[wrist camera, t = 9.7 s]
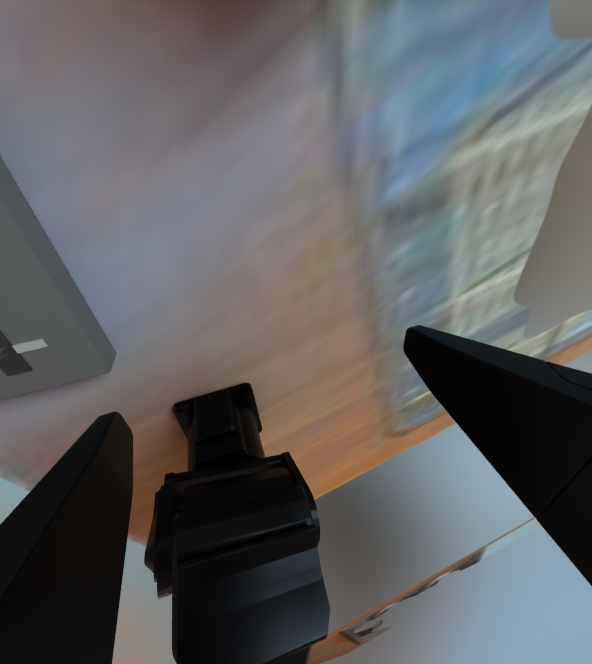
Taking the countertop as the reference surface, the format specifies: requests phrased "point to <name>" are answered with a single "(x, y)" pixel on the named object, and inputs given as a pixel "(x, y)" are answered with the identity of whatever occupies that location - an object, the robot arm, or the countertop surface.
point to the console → (41, 307)
